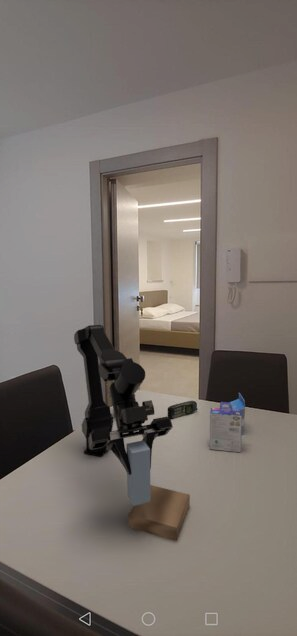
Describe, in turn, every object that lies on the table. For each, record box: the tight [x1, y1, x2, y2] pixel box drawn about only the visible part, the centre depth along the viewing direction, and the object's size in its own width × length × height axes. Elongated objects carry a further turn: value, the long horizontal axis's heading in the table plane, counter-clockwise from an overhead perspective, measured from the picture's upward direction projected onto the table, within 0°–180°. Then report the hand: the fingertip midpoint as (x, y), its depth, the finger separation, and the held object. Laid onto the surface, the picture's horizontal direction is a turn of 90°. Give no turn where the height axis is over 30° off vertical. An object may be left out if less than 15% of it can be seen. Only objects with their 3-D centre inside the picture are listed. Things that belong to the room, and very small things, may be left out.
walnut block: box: [128, 484, 191, 542], centre depth 74 cm, size 11×11×4 cm
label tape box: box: [228, 392, 246, 436], centre depth 115 cm, size 9×4×12 cm, turn 178°
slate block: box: [126, 439, 151, 507], centre depth 69 cm, size 4×4×12 cm
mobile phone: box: [167, 400, 198, 420], centre depth 128 cm, size 5×3×15 cm
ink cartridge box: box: [209, 401, 242, 453], centre depth 103 cm, size 10×6×14 cm, turn 78°
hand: (139, 472), depth 68 cm, fingers closed on slate block, 4 cm apart
